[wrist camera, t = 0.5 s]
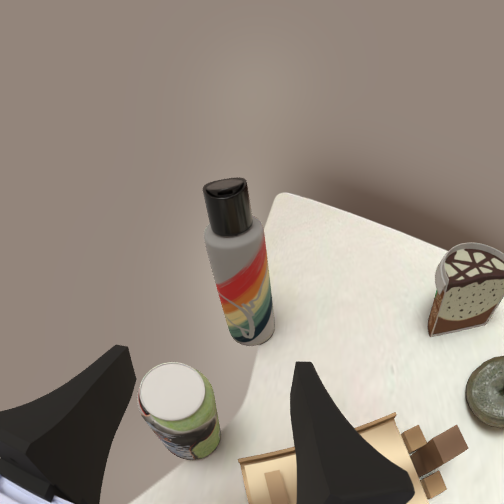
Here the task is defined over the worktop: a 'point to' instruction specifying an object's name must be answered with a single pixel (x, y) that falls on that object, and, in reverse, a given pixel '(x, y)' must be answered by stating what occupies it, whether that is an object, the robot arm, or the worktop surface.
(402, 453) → the sliding lid
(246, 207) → the lotion bottle
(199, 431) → the beverage can
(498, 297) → the food container
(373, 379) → the worktop surface
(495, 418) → the grey small piece
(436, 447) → the walnut key
